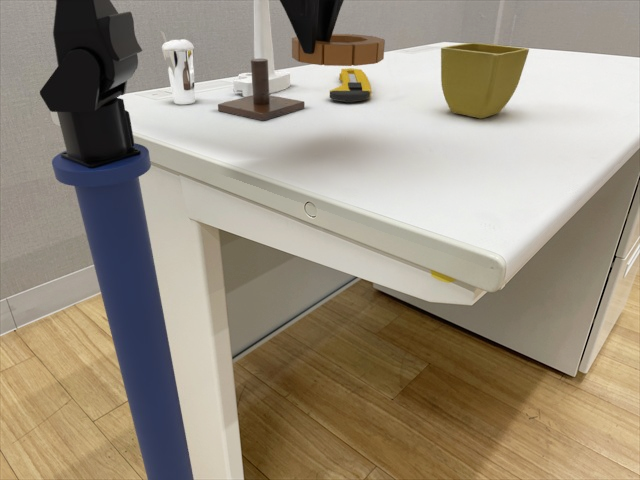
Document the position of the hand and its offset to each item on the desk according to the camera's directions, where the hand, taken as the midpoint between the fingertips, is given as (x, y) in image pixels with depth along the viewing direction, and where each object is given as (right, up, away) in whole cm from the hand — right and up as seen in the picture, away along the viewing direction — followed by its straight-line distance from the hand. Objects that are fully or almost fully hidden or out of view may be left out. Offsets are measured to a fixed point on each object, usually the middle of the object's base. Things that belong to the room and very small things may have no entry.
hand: (315, 52), depth 51 cm
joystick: (-10, +7, +35) cm, 37 cm away
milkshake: (-21, +2, +27) cm, 34 cm away
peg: (-8, 0, +22) cm, 24 cm away
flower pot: (+23, -1, +21) cm, 31 cm away
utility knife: (+5, +7, +36) cm, 37 cm away
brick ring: (+2, +1, +3) cm, 4 cm away
